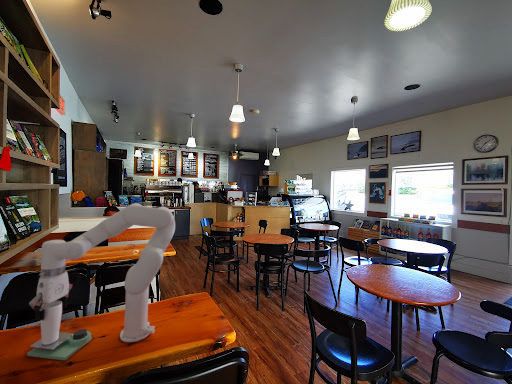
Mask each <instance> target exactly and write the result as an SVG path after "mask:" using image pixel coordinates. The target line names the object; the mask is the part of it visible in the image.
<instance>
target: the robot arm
mask: <svg viewBox="0 0 512 384" xmlns="http://www.w3.org/2000/svg"><path fill="white" fill-rule="evenodd" d="M133 226H138V227H139V226H140V227H148V228H155V230H154V232H153V234H152V235H151V237H150V239H149V240H148V242H147V243H146V245H144V247H143V249H142V250H141V252H140V255H139V258H138V260H137V261H136V264H134V265H132V266H131V267H130V268H129V269H128V270H127V272H126V275H125V278H124V279H125V280H124V283H123V284H124V289H125V298H124V299H125V301H124V322H123V329H122V330H121V331H120V333H119V339H120V341H121V342H124V343H135V342H139V341H142V340H143V339H145V338H147V337H148V336H149V335H150V334H152V335H153V334H155V330H156V326H155V325H151V324H150V321H148V319H149V318H148V317H149V316H148V315H149V296H150V285H151V283H152V282H153V280H154V278H155V277H156V276H157V274H158V272H159V271H160V269H161V267H162V265H163V262H164V253H165V251H166V250H167V248H168V247H169V244H170V242H171V240H172V239H173V237H174V235H175V232H176V220H175V216H174V214H173V212H172V211H171V210H170V209H169V208H168V207H167V206H159V207H151V206H145V205H142V204H141V203H130V204H128V205H127V206H126V207H124V208H122V209H121V210H119V211H117V212H116V213H114V214H112V215H110V216H109V217H107V218H105V219H104V220H102V221H101V222H99V223H98V224H97V225H95V226H94V227H92V228H90V229H88V230H86V231H85V232H83V233H82V234H80V235H78V236H77V237H75V238H73V239H72V240H69V241H65V240H64V239H51V240H46V241H44V242H43V243H42V245H41V256H40V257H41V261H40V265H41V266H40V272H39V274H38V275H39V278H38V283H37V287H36V295H35V296H34V297H33V298H32V299H31V300H30V301H29V303H28V305H29V307H30V308H31V309H32V310H33V311H35V321H40V320H44V319H45V310H44V307H45V305H46V304H49V303H51V302H53V301H61V302H62V309H64V308H67V307H68V298H69V297H70V293H71V292H72V288H73V284H72V283H70V281H69V273H68V271H67V270H66V265H67V264H66V263H67V262H66V261H67V260H78V259H81V258H82V257H84V256H85V255H86V254H87V252H89V251H90V250H92V249H93V248H94V247H96V246H97V245H99V244H101V243H103V242H104V241H106V240H108V239H111V238H115V237H117V236H118V235H121V234H122V233H123V232H125V231H127V230H128V229H130V228H131V227H133Z"/></svg>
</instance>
